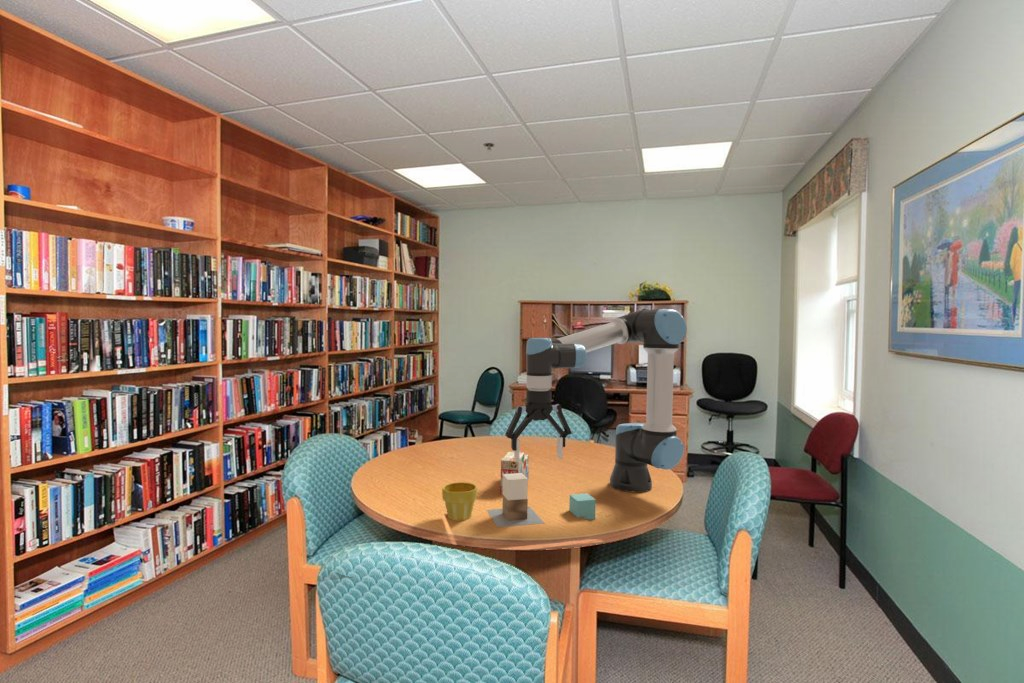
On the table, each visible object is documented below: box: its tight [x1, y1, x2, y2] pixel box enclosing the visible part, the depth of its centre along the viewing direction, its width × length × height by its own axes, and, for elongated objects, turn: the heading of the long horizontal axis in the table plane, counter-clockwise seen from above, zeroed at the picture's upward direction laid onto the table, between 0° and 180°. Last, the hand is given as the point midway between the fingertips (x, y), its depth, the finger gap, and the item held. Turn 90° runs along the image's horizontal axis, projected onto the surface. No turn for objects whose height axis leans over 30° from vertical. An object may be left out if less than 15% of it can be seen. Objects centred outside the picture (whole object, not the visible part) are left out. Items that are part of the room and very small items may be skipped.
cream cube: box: [502, 473, 529, 500], centre depth 151 cm, size 6×6×6 cm
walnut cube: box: [501, 495, 529, 521], centre depth 152 cm, size 6×6×6 cm
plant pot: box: [441, 481, 478, 522], centre depth 151 cm, size 10×10×10 cm
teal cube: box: [568, 492, 597, 521], centre depth 155 cm, size 6×6×6 cm
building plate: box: [486, 506, 545, 528], centre depth 152 cm, size 14×14×1 cm
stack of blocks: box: [499, 451, 530, 496], centre depth 184 cm, size 21×6×12 cm, turn 168°
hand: (538, 459), depth 153 cm, fingers open, 13 cm apart
